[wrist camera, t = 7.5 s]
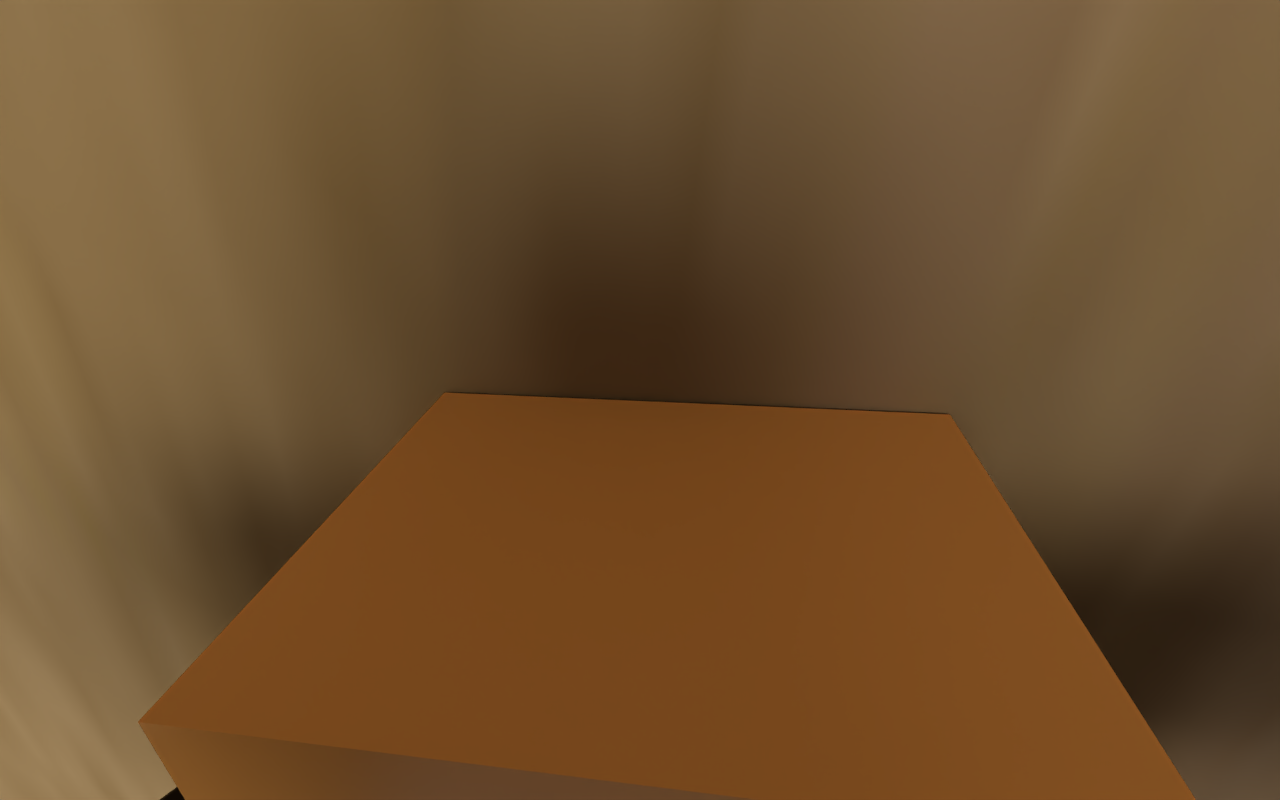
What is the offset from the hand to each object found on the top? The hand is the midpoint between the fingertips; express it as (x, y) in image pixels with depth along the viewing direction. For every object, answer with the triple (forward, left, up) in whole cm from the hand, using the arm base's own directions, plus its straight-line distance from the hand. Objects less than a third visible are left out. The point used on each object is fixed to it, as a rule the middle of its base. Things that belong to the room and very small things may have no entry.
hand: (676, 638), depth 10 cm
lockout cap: (0, 0, -1) cm, 1 cm away
